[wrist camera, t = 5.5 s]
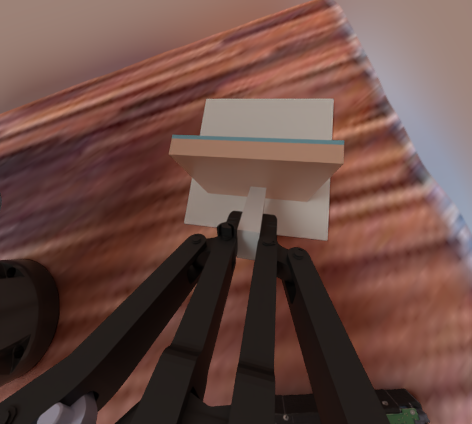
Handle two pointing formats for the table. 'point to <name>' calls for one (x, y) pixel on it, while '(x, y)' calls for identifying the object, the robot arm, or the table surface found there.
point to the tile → (258, 164)
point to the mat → (266, 126)
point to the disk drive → (393, 401)
